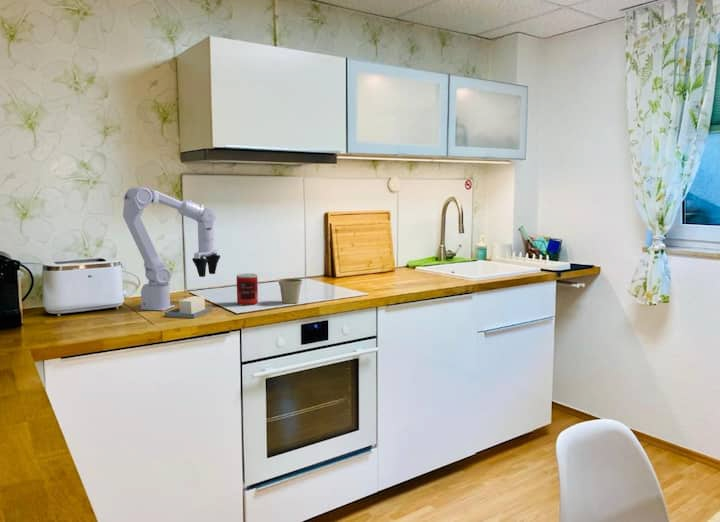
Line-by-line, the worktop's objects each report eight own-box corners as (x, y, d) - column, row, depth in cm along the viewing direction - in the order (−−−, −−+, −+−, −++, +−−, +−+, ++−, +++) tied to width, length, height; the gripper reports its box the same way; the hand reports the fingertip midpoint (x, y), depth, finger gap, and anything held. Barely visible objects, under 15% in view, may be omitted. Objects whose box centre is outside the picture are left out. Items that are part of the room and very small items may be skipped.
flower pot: (299, 299, 219) (299, 277, 218) (305, 303, 211) (305, 281, 210) (275, 301, 216) (275, 279, 215) (281, 305, 207) (280, 282, 206)
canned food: (248, 300, 217) (248, 272, 215) (262, 303, 211) (261, 274, 210) (232, 303, 211) (232, 275, 209) (246, 306, 206) (245, 277, 204)
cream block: (193, 308, 200) (179, 313, 192) (193, 296, 200) (179, 300, 191) (204, 309, 199) (191, 314, 191) (204, 296, 199) (191, 301, 190)
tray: (164, 316, 189) (164, 312, 188) (184, 309, 201) (184, 305, 200) (193, 318, 186) (193, 313, 186) (212, 310, 198) (211, 306, 198)
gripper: (205, 241, 203) (207, 278, 205) (224, 238, 217) (225, 272, 219) (188, 241, 205) (189, 277, 206) (208, 238, 219) (209, 272, 220)
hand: (207, 275), depth 213 cm, fingers open, 7 cm apart
